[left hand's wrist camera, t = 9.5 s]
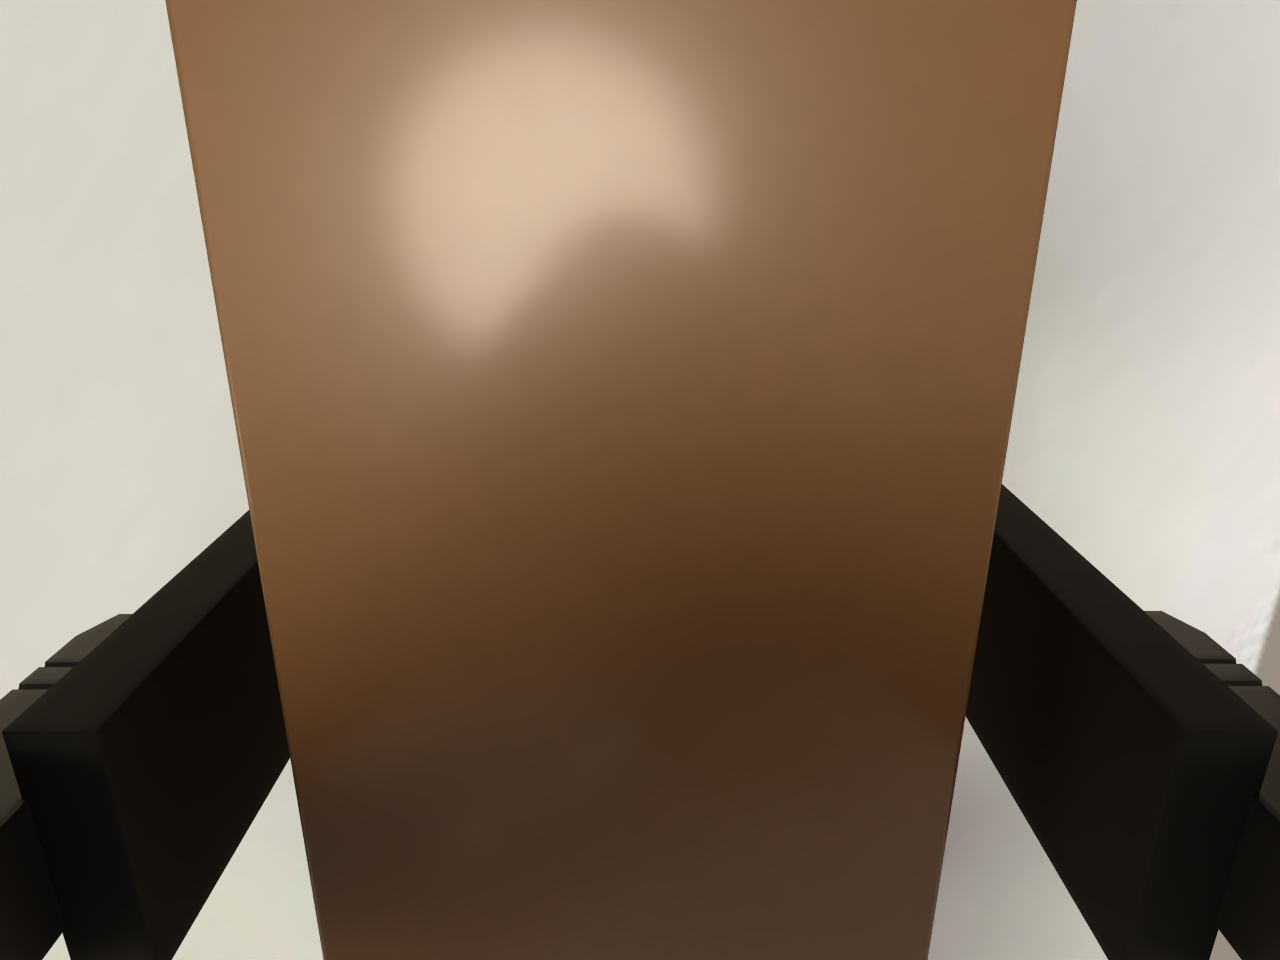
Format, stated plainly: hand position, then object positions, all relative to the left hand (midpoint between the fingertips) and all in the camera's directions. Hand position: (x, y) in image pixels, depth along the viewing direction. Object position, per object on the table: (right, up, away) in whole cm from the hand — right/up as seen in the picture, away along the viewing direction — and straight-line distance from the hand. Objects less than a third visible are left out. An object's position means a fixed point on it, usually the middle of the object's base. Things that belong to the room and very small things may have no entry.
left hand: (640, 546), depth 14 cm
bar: (0, +10, -2) cm, 10 cm away
